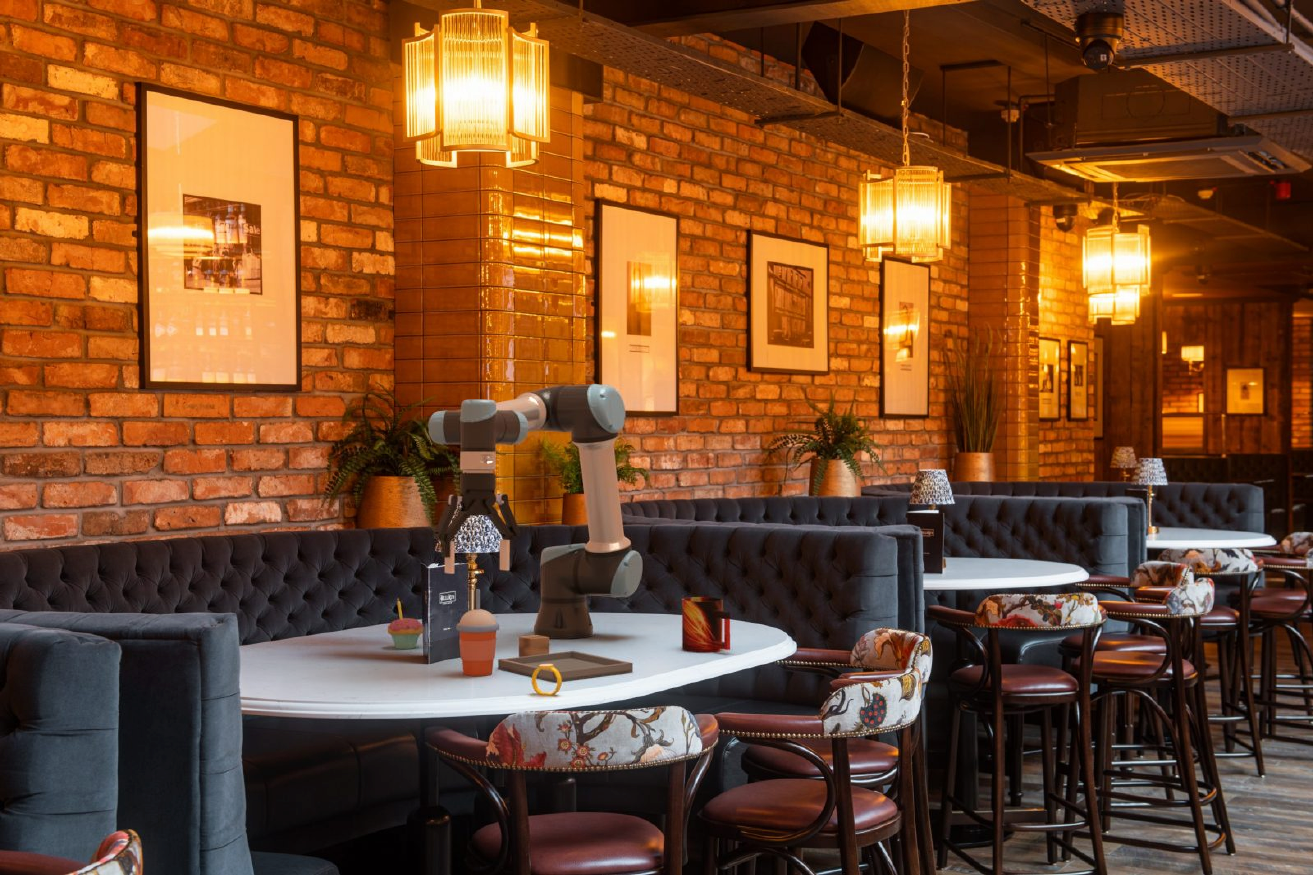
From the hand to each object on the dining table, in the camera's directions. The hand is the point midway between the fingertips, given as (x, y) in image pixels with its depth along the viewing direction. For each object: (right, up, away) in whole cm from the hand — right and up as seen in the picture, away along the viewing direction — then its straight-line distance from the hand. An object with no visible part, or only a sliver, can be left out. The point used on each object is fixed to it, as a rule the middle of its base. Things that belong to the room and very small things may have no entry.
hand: (477, 571), depth 293 cm
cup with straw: (0, -22, 0) cm, 22 cm away
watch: (+17, -22, -24) cm, 36 cm away
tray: (+18, -22, +5) cm, 29 cm away
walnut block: (+10, -22, +21) cm, 32 cm away
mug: (+51, -22, +34) cm, 65 cm away
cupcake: (-22, -22, +37) cm, 49 cm away
